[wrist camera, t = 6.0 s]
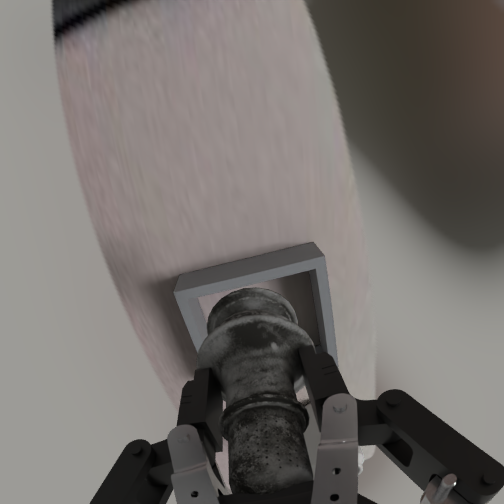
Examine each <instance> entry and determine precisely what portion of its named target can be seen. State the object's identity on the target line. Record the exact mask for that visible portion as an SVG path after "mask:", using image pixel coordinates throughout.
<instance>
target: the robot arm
mask: <svg viewBox="0 0 504 504" xmlns="http://www.w3.org/2000/svg"><path fill="white" fill-rule="evenodd" d="M298 353H299V358H300V363H301V369H302V374H303V379H304V382H305V386H306V389H307V392H308V396H309V399H310V402H311V406H312V409H313V412H314V416H315V419H316V422H317V426H318V429H319V432H321V439H320V444H318V449H317V459H316V468H315V476H314V480H312V481H308V482H303V483H299V484H294V485H292V486H290V487H287V488H285V489H282V490H280V491H277V492H275V493H272V494H269V495H261V494H247V493H239V494H229V492H228V490H227V487H226V485H225V482H224V480H223V477H222V474H221V472H220V469H219V467H218V464H217V462H216V460H215V452H223V436H222V435H221V433H220V431H219V426H218V422H219V418H220V415H221V414H222V413H223V398H222V393H221V390H220V388H219V386H218V384H217V382H216V380H215V377H214V374H213V372H212V369H211V367H208V368H202V369H197V370H195V376H194V380H192V381H187V383H186V384H185V386H184V387H183V389H182V395H181V401H180V407H179V414H178V420H177V427H175V428H174V429H172V430H171V431H170V433H169V434H168V437H167V439H166V440H163V441H161V442H158V443H155V444H152V445H150V443H149V442H148V441H146V440H142V439H138V440H134V441H132V442H130V443H129V444H128V445H127V446H126V447H125V448H124V450H123V452H122V453H121V455H120V456H119V458H118V460H117V461H116V463H115V464H114V466H113V467H112V469H111V471H110V472H109V474H108V475H107V477H106V479H105V480H104V482H103V483H102V485H101V486H100V488H99V490H98V491H97V493H96V494H95V496H94V497H93V499H92V501H91V502H90V504H166V503H167V501H168V499H169V497H170V495H171V492H172V490H173V489H174V493H175V497H176V501H177V504H377V503H375V502H373V501H371V500H370V499H367V498H366V497H364V496H362V495H360V494H358V446H365V445H376V446H377V447H378V448H379V449H380V450H381V451H382V452H383V453H385V455H386V456H387V457H389V459H391V460H392V461H393V462H394V463H395V464H396V465H397V466H398V467H399V468H400V469H401V470H402V471H403V472H404V473H405V474H406V475H407V476H408V477H409V478H410V479H411V480H413V482H415V483H416V484H417V485H418V486H419V487H420V488H421V489H422V490H423V491H424V493H423V495H422V497H421V500H420V504H487V503H488V502H489V501H490V500H491V499H492V498H493V497H494V496H495V495H496V494H497V493H498V492H499V490H500V489H501V488H502V487H503V486H504V466H503V465H501V464H500V463H499V462H497V461H496V460H495V459H493V458H492V457H491V456H489V455H488V454H487V453H485V452H484V451H482V450H481V449H480V448H478V447H477V446H476V445H474V444H473V443H472V442H470V441H469V440H468V439H466V438H465V437H464V436H462V435H461V434H460V433H458V432H457V431H456V430H454V429H453V428H452V427H450V426H449V425H448V424H446V423H445V422H444V421H442V420H441V419H440V418H438V417H437V416H436V415H434V414H433V413H432V412H430V411H429V410H428V409H427V408H425V407H424V406H423V405H421V404H420V403H419V402H417V401H416V400H415V399H413V398H412V397H411V396H409V395H408V394H407V393H406V392H404V391H402V390H397V389H393V390H388V391H386V392H384V393H382V394H381V395H380V396H379V398H378V400H359V399H356V398H354V397H353V396H351V395H350V393H349V392H348V389H347V387H346V385H345V383H344V381H343V378H342V376H341V374H340V372H339V370H338V367H337V366H336V363H335V361H334V359H333V357H332V356H331V355H330V354H328V353H327V352H322V353H318V354H316V352H315V350H314V347H313V345H308V346H304V347H300V348H298Z"/></svg>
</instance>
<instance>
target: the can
mask: <svg viewBox="0 0 504 504" xmlns="http://www.w3.org/2000/svg"><path fill="white" fill-rule="evenodd" d="M305 408H306V409H307V411H308V414H309V417H310V418H309V425H308V427H307V429H306V431H305V432H304V433H303V434H304V438H305V442H306V446H307V451H308V455H309V459H310V463H311V467H312V471H313V480H314V476H315V468H316V459H317V449H318V444H320V439H321V432H319V429H318V426H317V422H316V419H315V416H314V412H313V409H312V406H311V403H310V404H308V405H306V406H305ZM363 462H364V455H363V452H362V450H361V447H360V446H358V476H359V474H360V473H361V472H362V470H363V467H362V466H361V465H362V464H363Z"/></svg>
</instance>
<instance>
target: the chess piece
mask: <svg viewBox="0 0 504 504" xmlns="http://www.w3.org/2000/svg"><path fill="white" fill-rule="evenodd" d="M207 333H208V336H207V337H206V338H205V339H204V341H203V343H202V345H201V347H200V349H199V350H198V356H197V363H196V366H197V369H202V368H208V367H211V369H212V372H213V374H214V377H215V380H216V382H217V384H218V386H219V388H220V390H221V393H222V398H223V400H224V401H225V402H226V409H225V410H224V411H223V413H222V414H221V415H220V418H219V422H218V426H219V431H220V433H221V435H222V436H223V437H224V439H226V440H227V441H228V453H229V484H230V488H231V491H232V494H239V493H247V494H261V495H269V494H272V493H275V492H277V491H280V490H282V489H285V488H287V487H290V486H292V485H294V484H299V483H303V482H308V481H312V480H313V471H312V467H311V463H310V459H309V455H308V451H307V446H306V442H305V438H304V434H303V433H304V432H305V431H306V429H307V427H308V425H309V418H310V417H309V414H308V411H307V409H306V408H305V407H304V406H303V405H302V403H300V402H298V401H297V398H296V393H297V392H298V391H299V390H301V389H302V388H303V387H304V386H305V382H304V379H303V374H302V369H301V363H300V358H299V353H298V348H300V347H304V346H308V345H313V347H314V344H313V341H312V340H311V338H310V337H309V336H308V334H307V333H306V331H304V330H303V329H302V328H301V327H299V326H298V320H297V317H296V313H295V310H294V309H293V307H292V306H291V304H290V303H289V301H287V300H286V299H285V298H284V297H282V296H281V295H280V294H278V293H276V292H273V291H271V290H269V289H262V288H243V289H240V290H237V291H234V292H231V293H230V294H228V295H226V296H225V297H223V298H221V299H220V300H219V302H218V303H217V304H216V305H215V306H214V307H213V309H212V311H211V313H210V314H209V317H208V322H207ZM314 350H315V347H314ZM315 352H316V351H315Z"/></svg>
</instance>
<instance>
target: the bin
mask: <svg viewBox="0 0 504 504" xmlns="http://www.w3.org/2000/svg"><path fill="white" fill-rule="evenodd" d="M308 270H309V274H310V280H311V286H312V292H313V298H314V304H315V310H316V317H317V323H318V330H319V337H320V344H321V345H318V346H314V347H315V351H316V354H318V353H322V352H327V353H328V354H330V355H331V356H332V357H333V359H334V361H335V363H336V366H337V367H338V358H337V347H336V338H335V329H334V320H333V312H332V304H331V296H330V289H329V281H328V274H327V267H326V261H325V256H324V254H323V253H322V252H321V251H320V249H319V248H318V247H317V246H316V244H315V243H314V242H312V243H308V244H304V245H300V246H296V247H292V248H287V249H283V250H279V251H275V252H271V253H267V254H263V255H259V256H255V257H251V258H247V259H243V260H238V261H234V262H230V263H226V264H222V265H218V266H214V267H210V268H206V269H201V270H197V271H193V272H189V273H185V274H181V275H179V278H178V281H177V284H176V287H175V289H174V292H173V293H174V295H175V298H176V301H177V303H178V306H179V308H180V311H181V314H182V316H183V319H184V321H185V324H186V326H187V329H188V331H189V334H190V336H191V338H192V341H193V343H194V346H195V348H196V350H197V353H198V350H199V349H200V347H201V345H202V343H203V341H204V339H205V338H206V337H207V336H208V333H207V323H206V320H205V317H204V315H203V312H202V309H201V306H200V304H199V301H198V298H197V297H201V296H205V295H209V294H214V293H218V292H222V291H227V290H231V289H235V288H239V287H244V286H248V285H252V284H256V283H260V282H264V281H268V280H272V279H276V278H280V277H285V276H289V275H292V274H296V273H300V272H304V271H308ZM338 369H339V368H338Z"/></svg>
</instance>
